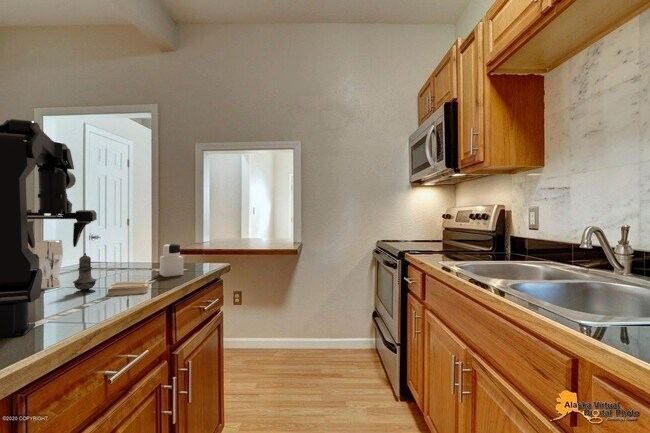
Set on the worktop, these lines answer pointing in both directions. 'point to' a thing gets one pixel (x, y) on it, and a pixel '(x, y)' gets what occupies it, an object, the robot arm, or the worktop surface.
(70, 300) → the worktop surface
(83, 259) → the salt shaker
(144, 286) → the oak base
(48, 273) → the beer glass
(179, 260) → the medicine bottle
